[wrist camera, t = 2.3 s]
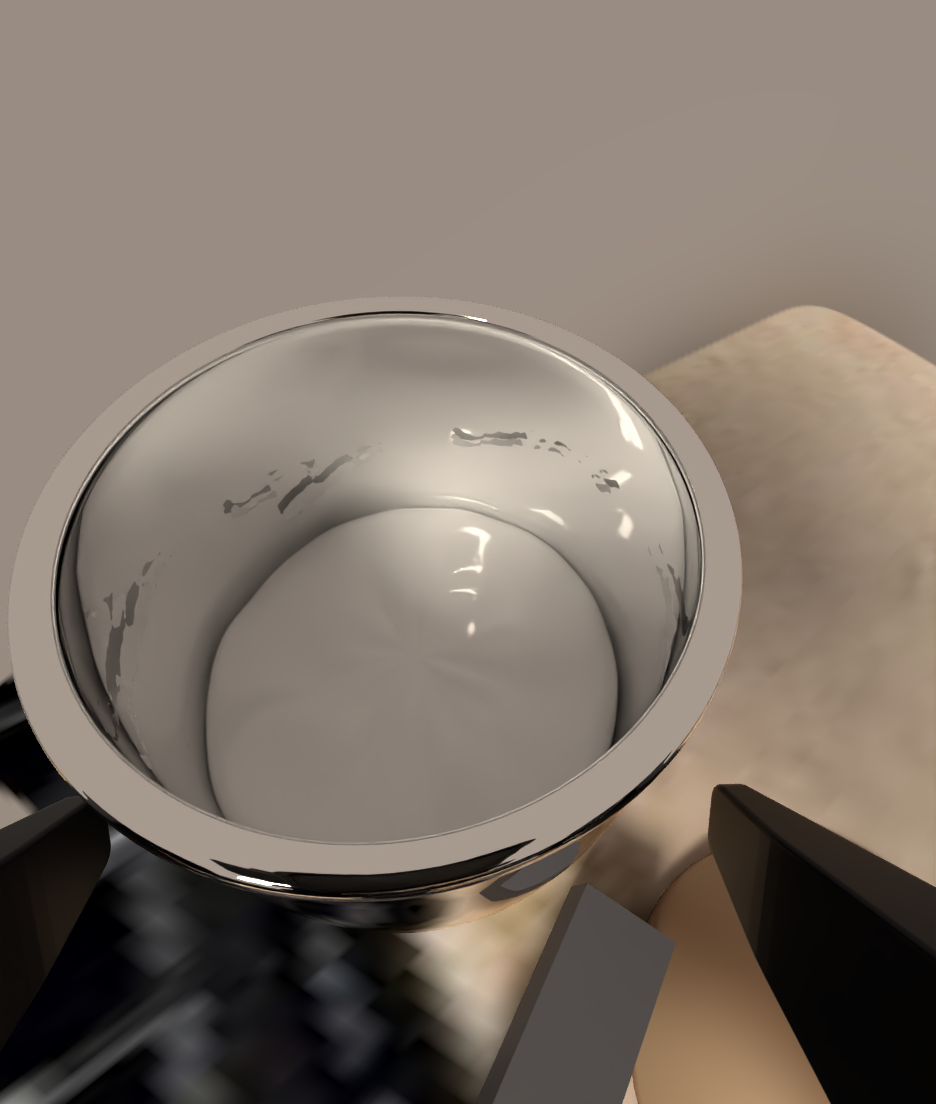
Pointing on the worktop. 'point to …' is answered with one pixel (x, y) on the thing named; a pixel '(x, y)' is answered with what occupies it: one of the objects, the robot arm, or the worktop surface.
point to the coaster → (716, 1010)
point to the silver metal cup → (376, 607)
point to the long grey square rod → (582, 1008)
